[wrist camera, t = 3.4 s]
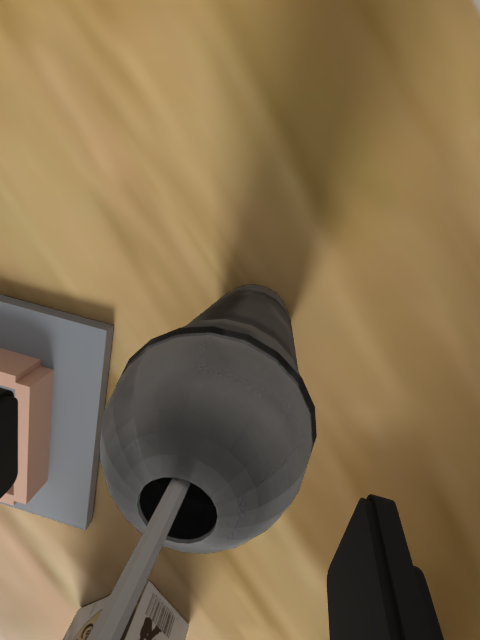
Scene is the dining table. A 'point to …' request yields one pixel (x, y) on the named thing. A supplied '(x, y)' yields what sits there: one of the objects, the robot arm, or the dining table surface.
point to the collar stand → (55, 406)
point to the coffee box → (135, 619)
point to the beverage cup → (205, 437)
